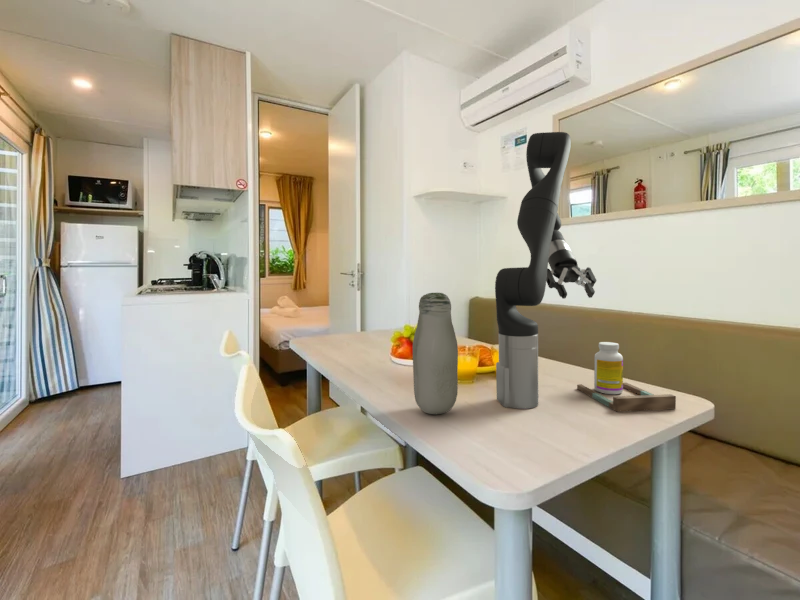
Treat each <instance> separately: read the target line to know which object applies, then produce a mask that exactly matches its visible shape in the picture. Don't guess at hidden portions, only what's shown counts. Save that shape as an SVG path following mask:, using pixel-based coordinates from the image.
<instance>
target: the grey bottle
mask: <svg viewBox="0 0 800 600" xmlns="http://www.w3.org/2000/svg"><path fill="white" fill-rule="evenodd" d="M418 312H419V313H418V318H417V323H416V329H415V331H414V335H413V341H412V370H413V372H412V375H413V393H414V399H415V403H416V404H417V407H419V409H420V410H421V411H422V412H424V413H426V414H429V415H440V414H441V415H442V414H445V413H447V412H448V411H450V410H452V408H453V407H454V405H455V403H456V401H457V397H458V389H459V388H458V387H459V385H458V384H459V383H458V370H459V369H458V367H459V366H458V365H459V359H458V357H459V351H458V350H459V347H458V340H457V337H456V332H455V329H454V325H453V321H452V320H453V318H452V303H451V300H450V298H449V296H448V295H447V294H446V293H445V294H444V293H443V292H429V293H426V294H423V295H422V296H421V297H420V299H419V302H418Z"/></svg>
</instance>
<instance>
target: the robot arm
mask: <svg viewBox="0 0 800 600" xmlns="http://www.w3.org/2000/svg"><path fill="white" fill-rule="evenodd" d="M571 140H572V139H571V136H570V134H569V133H568V132H565V131H550V132H535V133H532V134H531V135H530V137H529V139H528V141H527V147H526V152H525V154H526V155H525V156H526V158H525V159H526V166H527V171H528V177H529V181H530V184H531V188H530V190H528V191H527V193H526V194H524V196H523V198H522V200H521V203H520V205H519V211H518V217H517V220H516V222H517V223H516V224H517V229H518V231H519V233H520V235H521V237H522V239H523V241H524V242H525V244H526V246H527V248H528V251H529V253H530V261H529V265H528V266H526V267H525V266H524V267H523V266H522V267H521V266H520V267H506V268H505V267H503V268H501V269H500V270H499V271H498V272H497V273H496V277H495V282H494V283H495V284H494V289H495V290H494V291H495V292H494V294H495V309H496V322H497V328H498V329H497V330H498V362H496V364H495V369H496V370H495V371H496V375H495V376H496V378H495V379H496V382H495V384H496V387H495V388H496V400H497V401H498V403H499V404H501V406H503V408H512V409H521V410H522V409H523V410H524V409H525V410H527V409H532V408H536V407H537V406H538V405H539V324H538V323H537V321H535V320H533V319H531V318H528V317H526V316H524V315H522V314H521V313H520V311H518V309H517V306H518V307H519V306H520V307H521V306H522V307H536V306H538V305H540V304H541V303H542V301H543V299H544V296H545V292H546V286H548V288H549V289H555V290H557V293H558V295H559V297H560V298H562V299H566V298H567V296H568V292H567V290H566V288H565V286H564V285H565V284H567V283H574V284H576V285H578V286H581V287H583V288H584V291H585V293H586V295H587V298H589V299H591V298H593V296H594V294H595V292H596V291H595V288H594V285H595V284H596V282H597V278H596V276H595V275H594V273H593V271H592V269H591V267H589V266H588V267H586V268H584V269H583V268H580V267H579V266H578V261H577V259H576V257H575V255H574V253H573V251H572V250H571V247H570V246H569V245H568V243H567V242H566V239H565V237H564V235H563V233H562V232H560V230H561V227H562V220H561V217H560V215H559V213H558V211H559V204H560V198H561V197H560V196H561V188H562V185H563V180H564V176H565V172H566V168H567V164H568V162H569V161H568V160H569V156H570V153H571V146H572V141H571ZM542 169H549V170H548V171H547V173H546V174H545V173H544V171H543V170H542ZM549 267H550V268H549ZM554 277H555V278H556V279H558V280H557V281H556V280H555V278H554ZM563 283H564V284H563Z"/></svg>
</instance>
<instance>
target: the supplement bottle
mask: <svg viewBox="0 0 800 600" xmlns="http://www.w3.org/2000/svg"><path fill="white" fill-rule="evenodd" d="M598 348H599V351H597V352H596V353H595V354H594V367H593V368H594V375H593V376H594V377H593V378H594V381H593V382H594V383H593V385H594V386H593V387H594V391H595V392H597V393H599V394H604V395H605V394H606V395H620V394H622V393H623V391H624V390H623V389H624V388H623V383H624V357H623V355H622V354H621V353H619V349H620V344H619V343H617V342H612V341H600V342H598Z"/></svg>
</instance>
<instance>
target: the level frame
mask: <svg viewBox="0 0 800 600" xmlns="http://www.w3.org/2000/svg"><path fill="white" fill-rule="evenodd" d="M576 389H577V390H578V391H580V392H582V393H583V394H585V395H587V396H589V397H591V398H593V400H596V401H598V402H599V403H601V404H603V405H605V406H607V407H608V408H609V409H611V410H613V411H616V412H617V413H619V412H620V413H621V412H622V413H623V412H638V411H639V412H643V411H660V410H661V411H663V410H667V411H668V410H676V401H677V399H676V398H677V397H676V395H674V394H671V393H669V394H668V393H667V394H654V393H652V392H649V391H647V390H645V389H642V388H639V387H637V386H636V385H632V384H630V383H628V382H623V389H625V390H627V389H628V390H627V391H629V390H630V391H629V392H632V393H634V394H636V393H637V394H636V395H626V396H625V395H624V396H622V395H621V396H620V395H619V396H613V397H612V400H611V399H609V398H608V397H605V396H604V395H602V394H601V393H599V392H597V391H596V390H593V389H591V388H589V387H587V386H586V385H584V384H580V383H579V384H577V385H576ZM638 394H639V395H638Z"/></svg>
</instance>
